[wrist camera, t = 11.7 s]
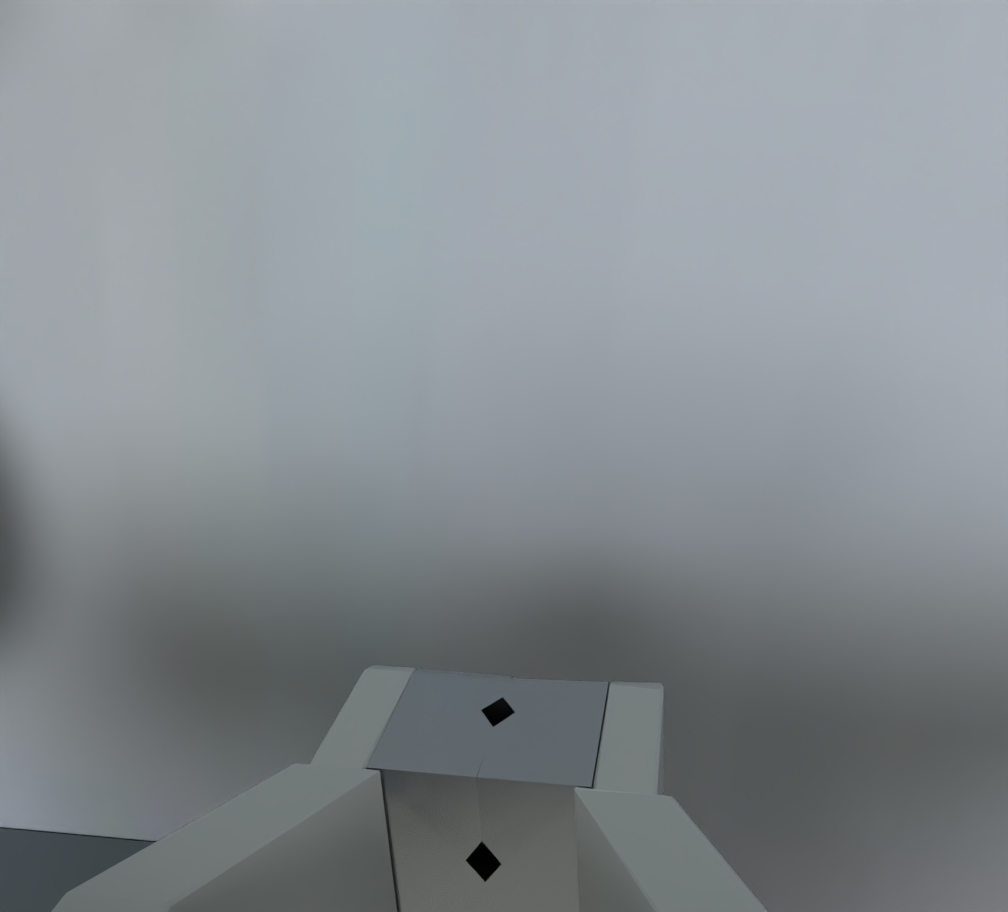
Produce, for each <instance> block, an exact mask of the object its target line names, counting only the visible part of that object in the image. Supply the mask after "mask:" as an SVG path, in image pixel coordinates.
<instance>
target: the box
mask: <svg viewBox="0 0 1008 912" xmlns="http://www.w3.org/2000/svg"><path fill="white" fill-rule="evenodd" d="M153 843H155V842H145V841H134V840H123V839H112V838H101V837H90V836H79V835H68V834H57V833H47V832H36V831H25V830H14V829H3V828H0V912H51V911H52V910H53V909H54V908H55V906H56V905H57V904H58V903H59V901H60V900H61V899H62V898H63V896H64V895H65V894H66V893H67V892H69V891H70V890H72V889H74V888H76V887H77V886H79V885H81V884H83V883H84V882H86V881H88V880H90V879H92V878H93V877H95V876H97V875H99V874H100V873H102V872H104V871H106V870H107V869H109V868H111V867H113V866H114V865H116V864H118V863H120V862H121V861H123V860H125V859H127V858H129V857H130V856H132V855H134V854H136V853H137V852H139V851H141V850H143V849H144V848H146V847H148V846H150V845H151V844H153Z"/></svg>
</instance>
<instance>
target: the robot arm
mask: <svg viewBox="0 0 1008 912" xmlns="http://www.w3.org/2000/svg"><path fill="white" fill-rule="evenodd" d="M663 761H664V688H663V686H662V684H661V683H649V682H615V681H612V682H611V683H609V682H595V681H574V680H552V679H531V678H514V677H513V676H504V675H492V674H481V673H469V672H458V671H446V670H434V669H423V668H420V669H416V668H412V667H396V666H379V665H373V666H371V667H368V668H366V669H365V670H364V671H363V672H362V674H361V676H360V677H359V679H358V681H357V682H356V684H355V686H354V688H353V689H352V691H351V693H350V694H349V696H348V698H347V700H346V701H345V703H344V705H343V706H342V708H341V710H340V712H339V713H338V715H337V717H336V719H335V720H334V722H333V724H332V725H331V727H330V729H329V731H328V732H327V734H326V736H325V737H324V739H323V741H322V743H321V744H320V746H319V748H318V749H317V751H316V753H315V755H314V756H313V758H312V760H311V761H310V763H309V764H299V763H294V764H292V765H291V766H289V767H287V768H285V769H284V770H282V771H280V772H278V773H277V774H275V775H273V776H271V777H270V778H268V779H266V780H264V781H262V782H261V783H259V784H257V785H255V786H254V787H252V788H250V789H248V790H247V791H245V792H243V793H241V794H240V795H238V796H236V797H234V798H232V799H231V800H229V801H227V802H225V803H224V804H222V805H220V806H218V807H217V808H215V809H213V810H211V811H210V812H208V813H206V814H204V815H203V816H201V817H199V818H197V819H195V820H194V821H192V822H190V823H188V824H187V825H185V826H183V827H181V828H180V829H178V830H176V831H174V832H173V833H171V834H169V835H167V836H166V837H164V838H162V839H160V840H158V841H157V842H155V843H153V844H151V845H150V846H148V847H146V848H144V849H143V850H141V851H139V852H137V853H136V854H134V855H132V856H130V857H129V858H127V859H125V860H123V861H121V862H120V863H118V864H116V865H114V866H113V867H111V868H109V869H107V870H106V871H104V872H102V873H100V874H99V875H97V876H95V877H93V878H92V879H90V880H88V881H86V882H84V883H83V884H81V885H79V886H77V887H76V888H74V889H72V890H70V891H69V892H67V893H66V894H65V895H64V896H63V898H62V899H61V900H60V901H59V903H58V904H57V905H56V906H55V908H54V909H53V910H52V911H51V912H768V911H767V910H766V909H765V907H764V906H763V905H762V904H761V903H760V901H759V900H758V899H757V898H756V897H755V895H754V894H753V893H752V892H751V890H750V889H749V888H748V887H747V886H746V884H745V883H744V882H743V881H742V880H741V878H740V877H739V876H738V875H737V874H736V872H735V871H734V870H733V869H732V867H731V866H730V865H729V864H728V863H727V861H726V860H725V859H724V858H723V857H722V855H721V854H720V853H719V852H718V851H717V849H716V848H715V847H714V846H713V845H712V843H711V842H710V841H709V840H708V838H707V837H706V836H705V835H704V834H703V832H702V831H701V830H700V829H699V828H698V826H697V825H696V824H695V823H694V822H693V820H692V819H691V818H690V817H689V816H688V814H687V813H686V812H685V811H684V809H683V808H682V807H681V806H680V805H679V803H678V802H677V801H676V800H675V799H674V797H672V796H665V795H663Z"/></svg>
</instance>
